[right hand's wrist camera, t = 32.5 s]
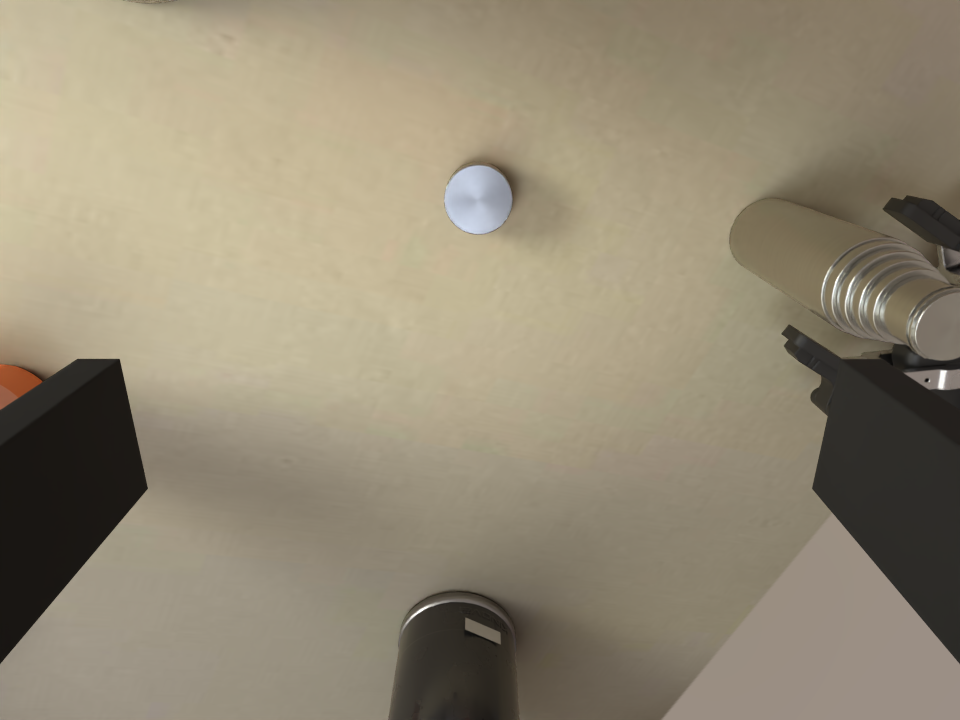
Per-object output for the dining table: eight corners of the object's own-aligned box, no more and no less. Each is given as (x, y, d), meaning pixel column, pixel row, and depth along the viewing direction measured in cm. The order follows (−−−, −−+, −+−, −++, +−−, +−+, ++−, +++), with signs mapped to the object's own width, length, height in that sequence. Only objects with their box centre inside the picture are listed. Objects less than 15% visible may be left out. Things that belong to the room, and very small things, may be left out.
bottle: (763, 183, 41) (957, 243, 24) (819, 224, 42) (1042, 310, 25) (713, 246, 42) (864, 344, 26) (769, 285, 43) (948, 403, 27)
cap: (469, 241, 42) (469, 247, 40) (432, 186, 41) (430, 190, 39) (523, 204, 41) (525, 209, 39) (487, 148, 40) (487, 150, 38)
